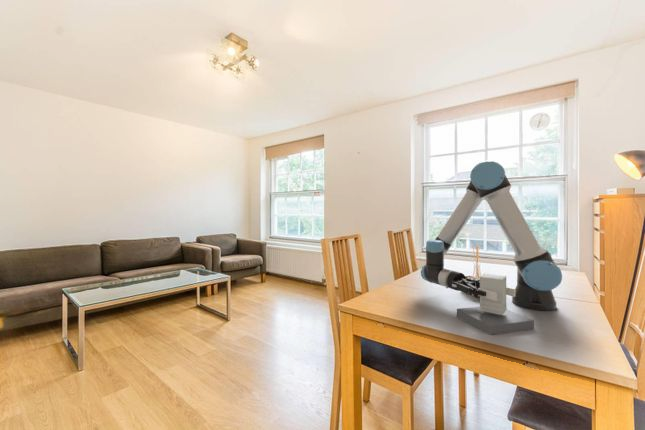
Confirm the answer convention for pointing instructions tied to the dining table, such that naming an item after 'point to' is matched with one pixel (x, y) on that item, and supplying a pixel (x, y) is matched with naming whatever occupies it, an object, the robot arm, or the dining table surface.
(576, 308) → the dining table surface
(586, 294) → the dining table surface
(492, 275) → the supplement box
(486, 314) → the gray board
